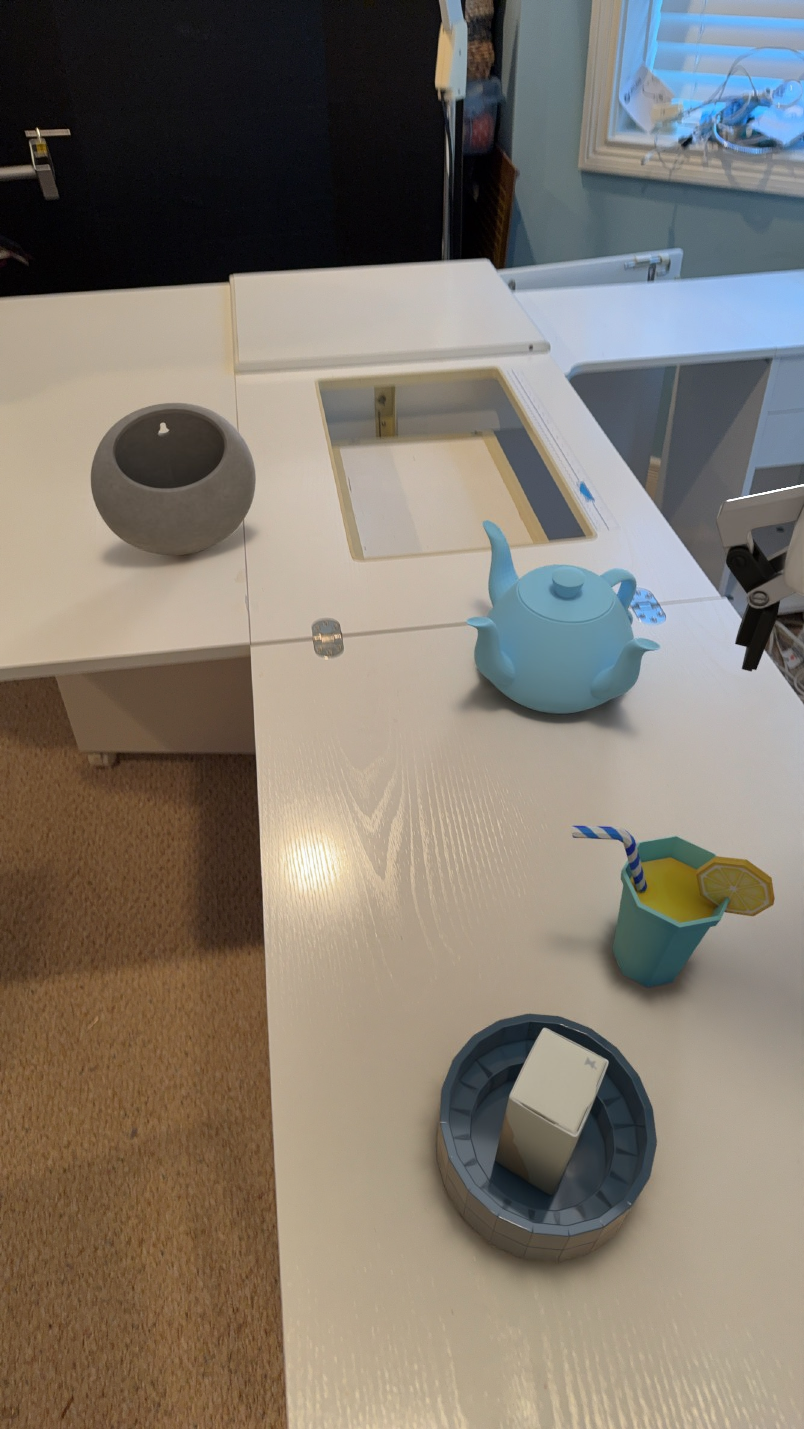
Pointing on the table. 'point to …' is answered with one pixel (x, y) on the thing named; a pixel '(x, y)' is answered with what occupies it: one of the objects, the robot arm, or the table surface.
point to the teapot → (557, 634)
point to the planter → (173, 479)
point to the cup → (675, 900)
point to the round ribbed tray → (599, 1166)
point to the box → (549, 1109)
